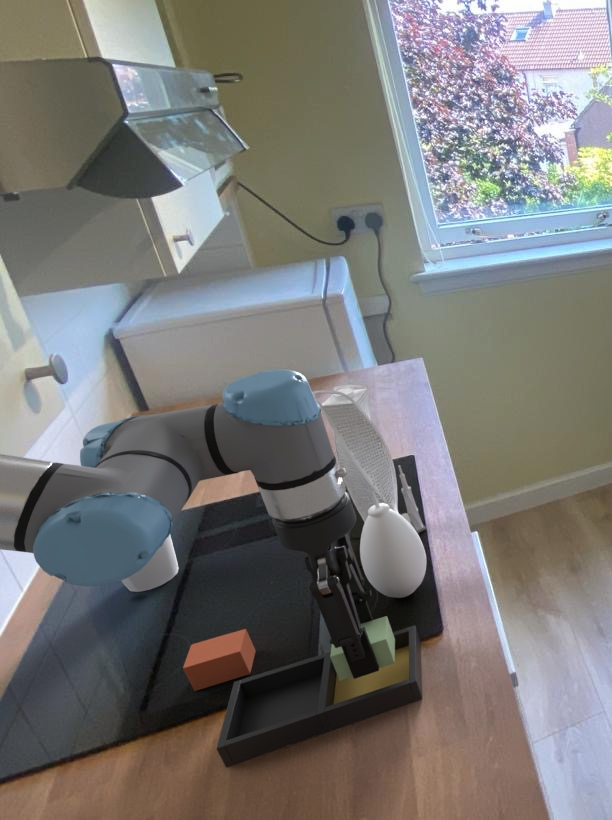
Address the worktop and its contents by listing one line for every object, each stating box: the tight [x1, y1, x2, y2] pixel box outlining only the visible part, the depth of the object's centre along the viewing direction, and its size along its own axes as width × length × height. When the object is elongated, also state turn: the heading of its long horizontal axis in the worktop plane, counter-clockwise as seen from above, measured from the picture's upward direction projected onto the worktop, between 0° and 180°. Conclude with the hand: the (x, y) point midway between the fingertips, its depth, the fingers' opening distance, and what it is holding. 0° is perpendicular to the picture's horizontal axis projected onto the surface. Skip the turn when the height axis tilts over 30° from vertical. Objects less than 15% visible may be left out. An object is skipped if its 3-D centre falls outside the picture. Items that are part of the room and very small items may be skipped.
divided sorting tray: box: [215, 625, 423, 768], centre depth 91 cm, size 20×11×3 cm, turn 116°
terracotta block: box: [182, 628, 256, 692], centre depth 96 cm, size 6×4×4 cm
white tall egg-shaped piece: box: [359, 492, 427, 599], centre depth 105 cm, size 8×8×18 cm
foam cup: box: [120, 534, 180, 593], centre depth 111 cm, size 10×9×13 cm
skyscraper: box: [312, 384, 427, 535], centre depth 117 cm, size 8×8×28 cm
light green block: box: [330, 615, 395, 681], centre depth 91 cm, size 6×4×4 cm
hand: (367, 657), depth 92 cm, fingers closed on light green block, 4 cm apart
